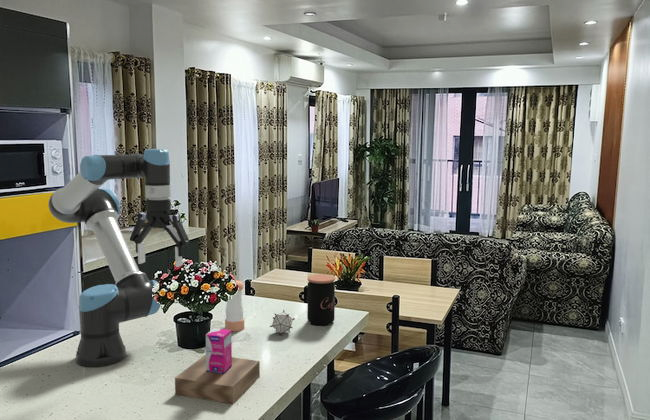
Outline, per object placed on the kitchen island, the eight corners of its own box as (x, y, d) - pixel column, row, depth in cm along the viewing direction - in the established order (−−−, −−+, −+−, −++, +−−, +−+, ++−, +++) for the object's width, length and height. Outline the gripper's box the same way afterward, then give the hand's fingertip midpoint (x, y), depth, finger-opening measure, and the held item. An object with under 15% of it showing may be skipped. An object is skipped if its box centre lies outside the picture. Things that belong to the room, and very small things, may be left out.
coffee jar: (322, 328, 209) (322, 282, 207) (301, 322, 216) (301, 277, 214) (339, 321, 218) (340, 277, 215) (319, 315, 224) (319, 272, 222)
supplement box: (205, 372, 159) (204, 334, 157) (214, 364, 164) (213, 327, 163) (224, 374, 157) (223, 336, 156) (232, 366, 163) (232, 329, 161)
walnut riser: (175, 394, 156) (174, 377, 155) (206, 368, 173) (206, 353, 172) (233, 404, 150) (232, 386, 150) (259, 376, 168) (259, 361, 167)
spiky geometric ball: (278, 343, 204) (262, 325, 200) (282, 328, 211) (267, 310, 208) (298, 335, 201) (282, 316, 197) (301, 320, 208) (286, 301, 205)
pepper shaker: (248, 328, 209) (247, 279, 206) (231, 332, 204) (230, 282, 201) (238, 323, 214) (237, 275, 212) (221, 327, 210) (220, 278, 207)
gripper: (116, 198, 172) (119, 264, 175) (186, 201, 165) (188, 270, 168) (131, 195, 179) (133, 259, 182) (199, 198, 172) (201, 265, 175)
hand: (160, 264), depth 175 cm, fingers open, 13 cm apart
